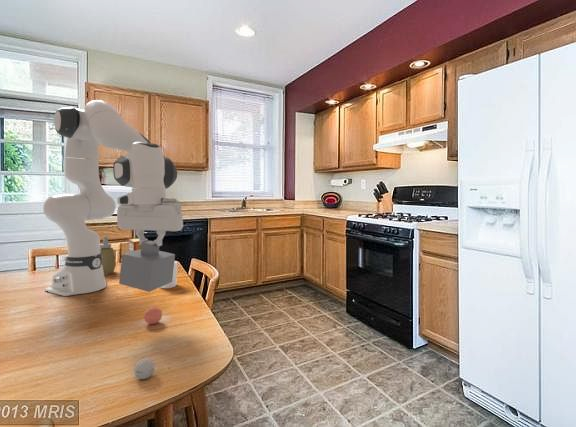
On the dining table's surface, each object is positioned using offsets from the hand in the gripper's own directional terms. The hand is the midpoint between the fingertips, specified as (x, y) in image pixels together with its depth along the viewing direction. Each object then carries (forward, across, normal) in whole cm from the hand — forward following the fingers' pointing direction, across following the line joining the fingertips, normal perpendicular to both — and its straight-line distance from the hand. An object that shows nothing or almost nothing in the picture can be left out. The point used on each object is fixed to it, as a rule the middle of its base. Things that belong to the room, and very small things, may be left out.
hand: (150, 245), depth 92 cm
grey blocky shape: (+11, +2, 0) cm, 11 cm away
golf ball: (+24, -16, +23) cm, 37 cm away
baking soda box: (+24, +50, -52) cm, 76 cm away
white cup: (+24, +20, -34) cm, 46 cm away
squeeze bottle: (+24, +62, -44) cm, 80 cm away
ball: (+22, +1, -1) cm, 22 cm away
